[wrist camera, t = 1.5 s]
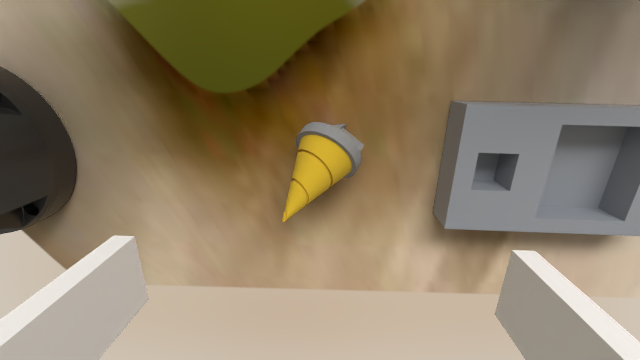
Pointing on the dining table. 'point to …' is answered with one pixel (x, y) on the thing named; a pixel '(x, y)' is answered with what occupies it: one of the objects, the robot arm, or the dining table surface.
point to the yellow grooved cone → (321, 163)
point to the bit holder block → (541, 168)
